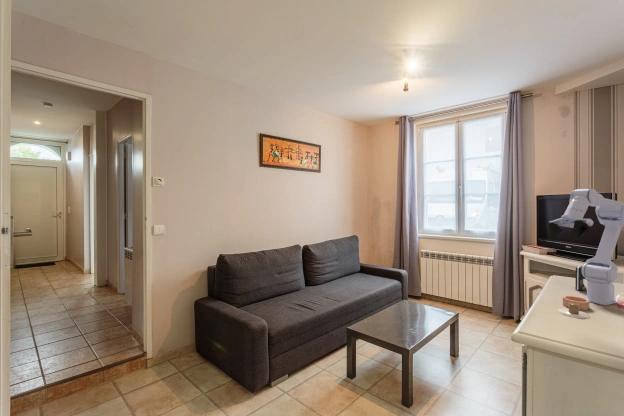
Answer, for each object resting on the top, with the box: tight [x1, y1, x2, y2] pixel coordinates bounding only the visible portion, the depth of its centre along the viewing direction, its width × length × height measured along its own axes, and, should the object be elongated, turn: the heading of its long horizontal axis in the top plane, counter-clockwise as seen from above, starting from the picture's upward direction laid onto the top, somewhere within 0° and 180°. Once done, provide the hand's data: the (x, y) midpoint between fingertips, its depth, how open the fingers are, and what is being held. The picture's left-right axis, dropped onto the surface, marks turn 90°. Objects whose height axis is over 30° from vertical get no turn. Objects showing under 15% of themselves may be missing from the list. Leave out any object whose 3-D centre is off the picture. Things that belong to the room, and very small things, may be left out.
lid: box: [557, 303, 591, 319], centre depth 113 cm, size 9×9×4 cm
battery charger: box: [574, 265, 587, 292], centre depth 142 cm, size 7×4×11 cm, turn 127°
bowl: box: [562, 295, 590, 311], centre depth 120 cm, size 8×8×3 cm
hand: (561, 239), depth 113 cm, fingers open, 7 cm apart
